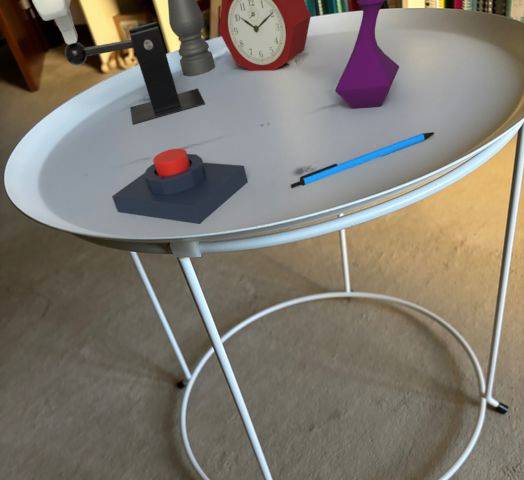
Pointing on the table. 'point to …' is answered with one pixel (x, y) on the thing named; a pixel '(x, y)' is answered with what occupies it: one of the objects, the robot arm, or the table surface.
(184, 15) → the candle holder
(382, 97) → the purple vase
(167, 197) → the button box
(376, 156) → the pen
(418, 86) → the table surface
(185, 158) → the button
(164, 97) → the bracket
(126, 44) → the lever
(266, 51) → the alarm clock
